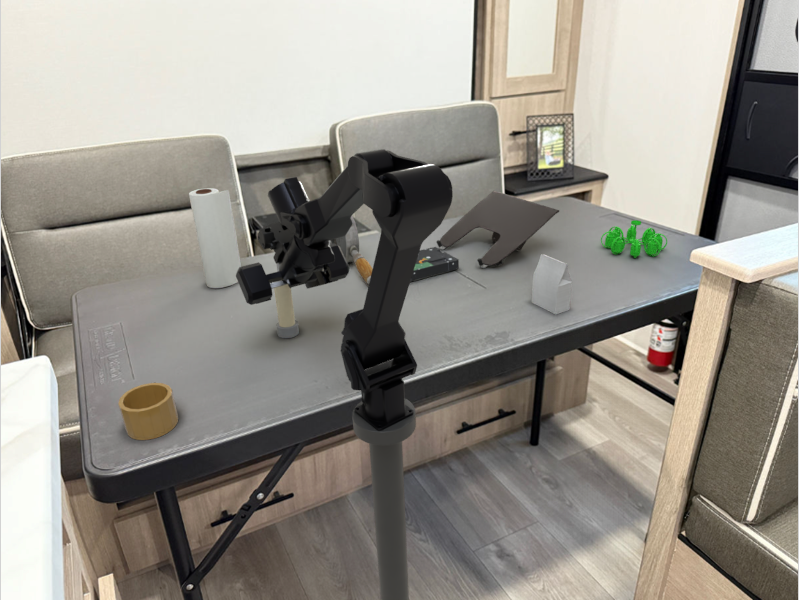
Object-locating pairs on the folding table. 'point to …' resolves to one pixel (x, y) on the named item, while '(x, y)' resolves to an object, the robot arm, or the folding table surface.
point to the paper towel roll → (216, 236)
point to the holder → (148, 411)
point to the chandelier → (634, 240)
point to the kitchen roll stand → (285, 312)
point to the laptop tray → (500, 225)
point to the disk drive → (433, 263)
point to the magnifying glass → (354, 251)
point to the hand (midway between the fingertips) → (284, 292)
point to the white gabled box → (552, 285)
